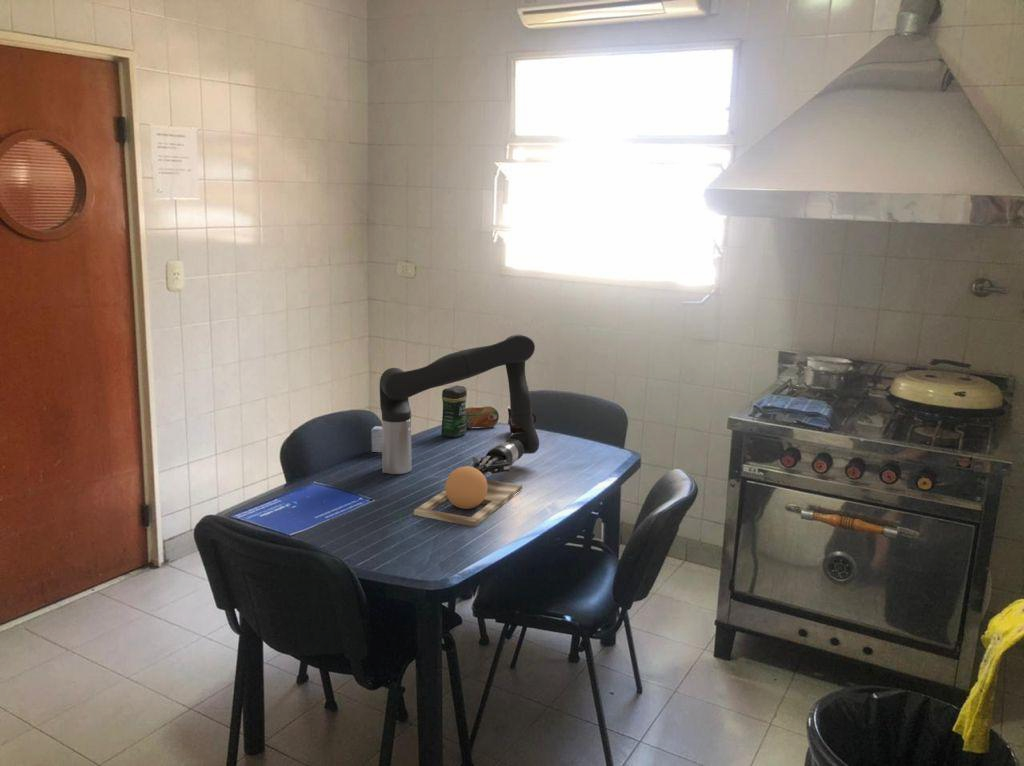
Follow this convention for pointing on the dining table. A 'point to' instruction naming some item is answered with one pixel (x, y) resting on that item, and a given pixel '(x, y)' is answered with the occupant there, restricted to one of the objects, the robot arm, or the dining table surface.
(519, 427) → the coffee mug
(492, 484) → the board
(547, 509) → the dining table surface
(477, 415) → the tin
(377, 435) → the medicine box
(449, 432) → the coffee jar
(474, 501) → the ball
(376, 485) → the dining table surface
